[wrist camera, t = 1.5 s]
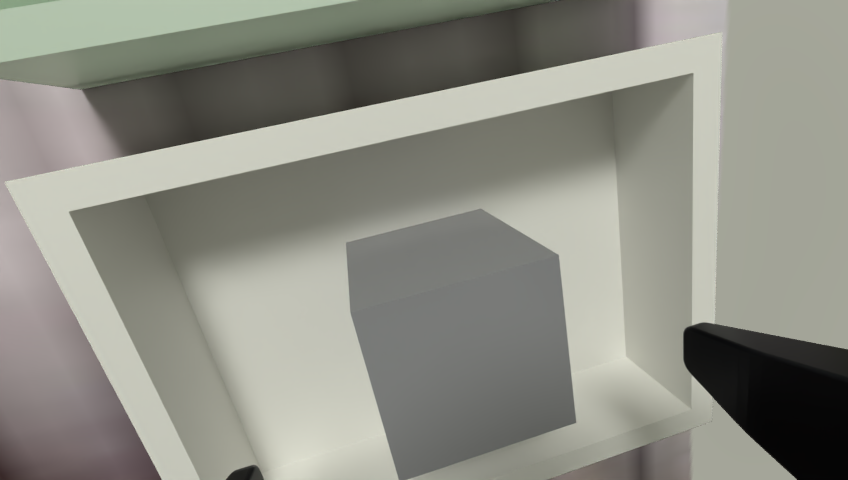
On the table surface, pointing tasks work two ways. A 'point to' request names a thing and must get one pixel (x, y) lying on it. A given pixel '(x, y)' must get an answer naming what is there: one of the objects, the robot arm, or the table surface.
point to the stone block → (460, 338)
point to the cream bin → (383, 212)
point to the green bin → (193, 32)
